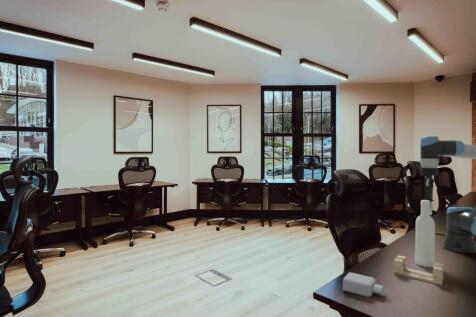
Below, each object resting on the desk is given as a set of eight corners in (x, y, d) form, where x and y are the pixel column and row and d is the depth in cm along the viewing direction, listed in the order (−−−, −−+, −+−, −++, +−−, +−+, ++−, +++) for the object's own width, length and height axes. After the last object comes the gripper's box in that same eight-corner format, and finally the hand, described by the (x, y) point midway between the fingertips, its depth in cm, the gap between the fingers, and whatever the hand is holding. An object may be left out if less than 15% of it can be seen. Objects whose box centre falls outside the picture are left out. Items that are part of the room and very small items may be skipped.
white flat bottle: (386, 303, 103) (342, 291, 112) (391, 293, 111) (350, 283, 120) (386, 289, 103) (342, 278, 112) (391, 280, 111) (350, 271, 120)
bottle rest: (398, 268, 134) (398, 255, 134) (443, 278, 123) (443, 264, 123) (394, 273, 128) (394, 260, 128) (441, 285, 117) (441, 269, 117)
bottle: (438, 268, 135) (438, 202, 135) (418, 266, 137) (419, 201, 136) (430, 261, 143) (431, 199, 142) (412, 260, 144) (412, 199, 144)
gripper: (422, 166, 156) (421, 211, 156) (418, 167, 146) (417, 215, 146) (439, 167, 151) (439, 213, 151) (436, 168, 141) (436, 217, 141)
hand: (428, 214), depth 149 cm, fingers closed
